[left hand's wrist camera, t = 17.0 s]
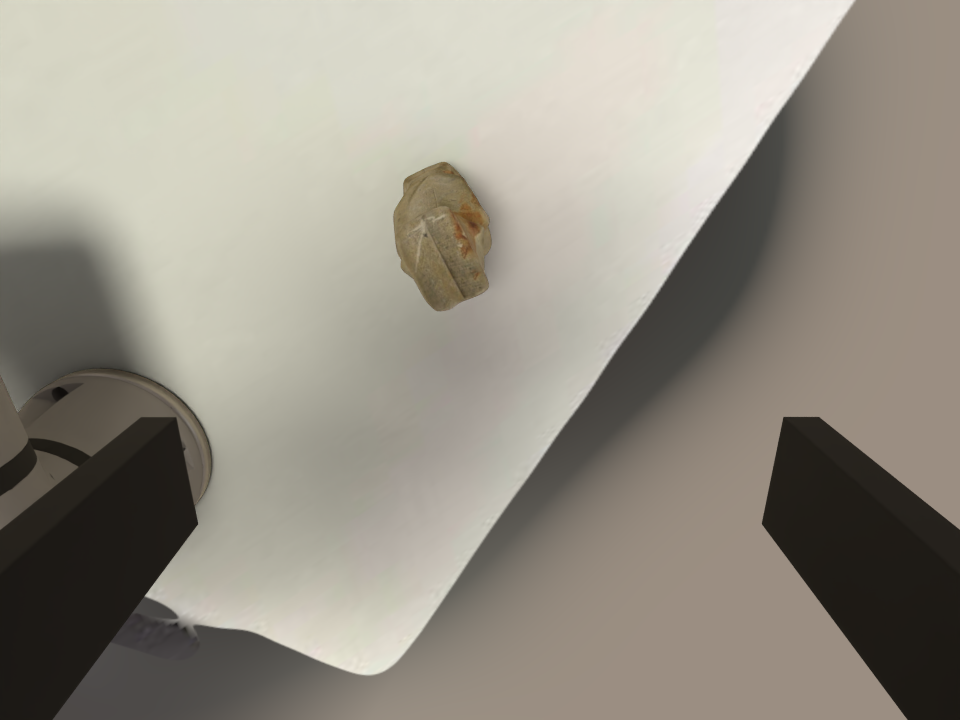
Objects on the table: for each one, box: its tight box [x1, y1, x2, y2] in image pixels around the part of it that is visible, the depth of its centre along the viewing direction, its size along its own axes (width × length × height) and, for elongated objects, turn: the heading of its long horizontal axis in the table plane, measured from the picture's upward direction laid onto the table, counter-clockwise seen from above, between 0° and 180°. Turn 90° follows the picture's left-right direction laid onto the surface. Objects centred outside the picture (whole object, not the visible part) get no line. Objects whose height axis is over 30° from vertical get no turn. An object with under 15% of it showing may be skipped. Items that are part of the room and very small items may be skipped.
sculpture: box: [393, 162, 491, 311], centre depth 35 cm, size 6×7×15 cm
